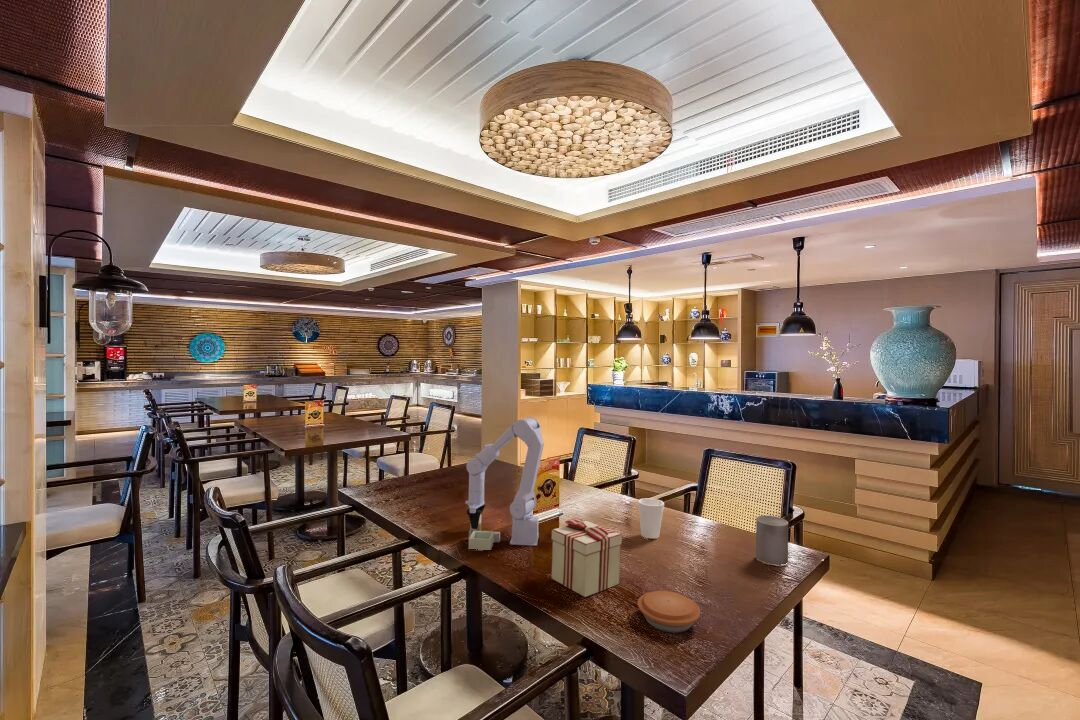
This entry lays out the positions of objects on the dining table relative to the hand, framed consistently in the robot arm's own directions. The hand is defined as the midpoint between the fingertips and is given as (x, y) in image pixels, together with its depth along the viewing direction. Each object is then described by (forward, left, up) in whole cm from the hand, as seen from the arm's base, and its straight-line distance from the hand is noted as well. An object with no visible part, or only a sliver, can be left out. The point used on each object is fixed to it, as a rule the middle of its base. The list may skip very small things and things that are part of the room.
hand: (475, 526), depth 179 cm
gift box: (-40, +33, -3) cm, 52 cm away
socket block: (-4, +12, -3) cm, 13 cm away
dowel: (0, 0, -2) cm, 2 cm away
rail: (-4, +7, -2) cm, 9 cm away
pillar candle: (-102, +13, -3) cm, 103 cm away
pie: (-60, +53, -3) cm, 80 cm away
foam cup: (-65, -4, -3) cm, 65 cm away
